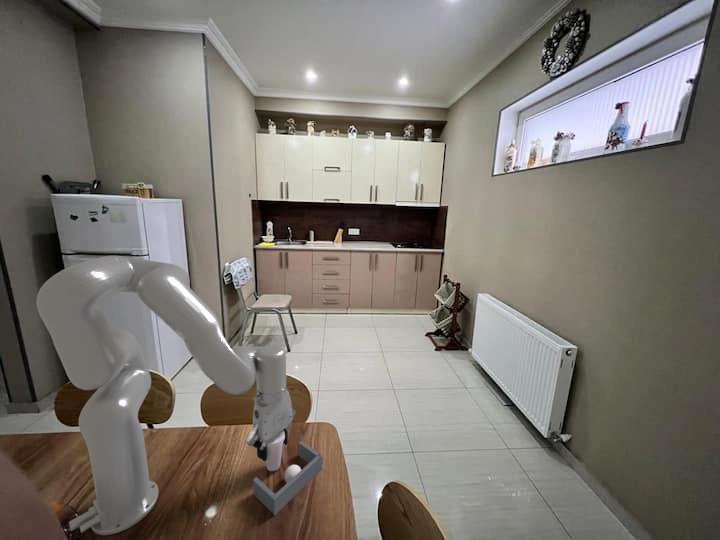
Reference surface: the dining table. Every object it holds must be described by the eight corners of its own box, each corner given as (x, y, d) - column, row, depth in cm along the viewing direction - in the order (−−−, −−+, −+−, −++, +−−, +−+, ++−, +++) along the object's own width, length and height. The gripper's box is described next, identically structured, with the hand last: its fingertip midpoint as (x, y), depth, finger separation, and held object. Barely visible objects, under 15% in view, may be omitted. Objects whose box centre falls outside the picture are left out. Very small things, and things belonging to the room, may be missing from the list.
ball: (282, 469, 74) (279, 481, 76) (295, 481, 73) (291, 493, 74) (294, 457, 78) (291, 468, 80) (306, 468, 76) (303, 479, 78)
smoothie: (278, 477, 77) (277, 431, 74) (256, 472, 78) (255, 427, 75) (289, 458, 83) (288, 415, 80) (268, 454, 84) (267, 411, 81)
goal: (274, 515, 68) (274, 499, 67) (253, 494, 73) (253, 479, 72) (322, 469, 81) (322, 455, 80) (301, 453, 86) (301, 440, 85)
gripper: (251, 415, 67) (253, 479, 70) (305, 382, 81) (305, 437, 84) (233, 402, 71) (236, 463, 75) (287, 373, 85) (288, 426, 88)
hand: (273, 449), depth 79 cm, fingers closed on smoothie, 6 cm apart
